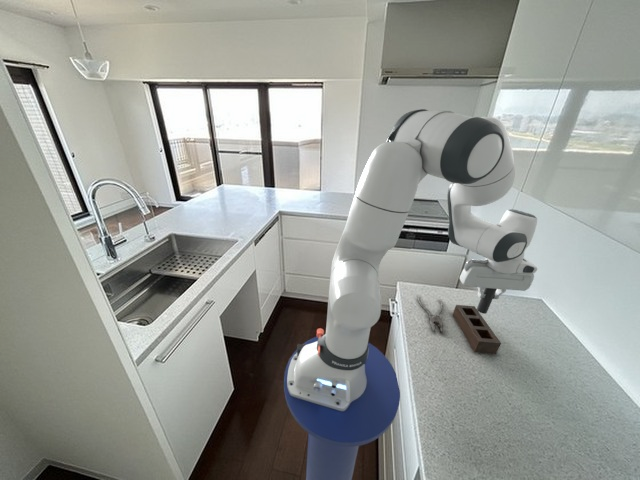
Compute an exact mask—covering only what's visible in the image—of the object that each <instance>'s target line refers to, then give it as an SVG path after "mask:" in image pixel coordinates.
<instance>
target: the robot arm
mask: <svg viewBox="0 0 640 480" xmlns="http://www.w3.org/2000/svg"><path fill="white" fill-rule="evenodd" d="M514 157H515V156H514V150H513V145H512V142H511V139H510V136H509V133H508V130H507V127H506V125H505V124H504V122H503V121H502V120H500V119H498V117H497V118H496V117H495V116H494V117H493V116H475V117H474V116H469V115H466V114H463V113H456V112H454V111H451V110H440V109H433V110H432V109H431V110H428V109H425V108H421V109H415V110H410V111H408V112H406V113H404V114H403V115H401V117H399V119H397V121H396V122H395V124H394V125H393V127H392V129H391V131H390V133H389V135H388V137H387V138H386V142H382V143H381V144H379V145H378V146H376V147H375V148H374V150H373V151H372V152H371V154H370V156H369V158H368V160H367V162H366V164H365V166H364V169H363V171H362V173H361V176H360V178H359V180H358V184H357V186H356V190H355V193H354V196H353V198H352V203H351V205H350V209H349V212H348V216H347V219H346V222H345V226H344V228H343V231H342V234H341V235H340V239H339V241H338V244H337V246H336V249H335V251H334V255H333V258H332V261H331V268H330V277H329V286H328V298H327V313H326V327H325V330H324V329H323V328H321V327H320V328H317V329H316V336H315V337H318V338H319V339H318V341H316V342H314V343H311V344H304V343H302V344H300V343H297V344H296V350H297V353H296V354H295V355H294V357H293V358H292V360H291V363H290V366H289V370H288V376H287V387H288V391H289V393H290V395H291V396H293V397H296V398H299V399H302V400H306V401H309V402H312V403H316V404H319V405H322V406H326V407H329V408H332V409H336V410H339V411H345V410H346V409H347V408H348V406H349V405H350V403H351V402H353V401H354V400H356V399H357V398H359V397H360V396H361V395H362V394H363V392H364V391H365V388H366V384H367V379H366V374H365V364H366V360H367V357H368V351H369V346H368V343H369V339H370V332H371V328H372V327H373V326H375V324H377V323H378V321H379V320H380V317H381V314H382V313H381V312H382V305H383V293H382V289H381V287H382V286H381V283H380V279H379V268H380V265H381V263H382V260H383V258H384V256H385V255H386V254H387V253H388V252H389V251H391V250H392V249H393V248H395V246H396V245H397V242H398V240H399V237H400V235H401V232H402V230H403V228H404V226H405V223H406V221H407V218H408V216H409V213H410V210H411V208H412V206H413V203H414V200H415V198H416V194H417V191H418V187H419V185H420V183H421V181H422V180H423V179H424V178H425V177H426V176H427V175H430V176H432V177H437V178H440V179H442V180H443V179H444V180H446V181H447V182H450V184H449V185H448V186H449V187H448V190H447V210H448V211H447V212H448V221H449V222H448V228H447V235H448V240H449V241H450V242H451V244H453V245H456V246H458V247H461V248H464V249H466V250H468V251H470V252H472V253H475V254H476V255H479V256H482V257H483V258H484V259H477V258H472V259H471V260H468V261H466V263H465V264H464V267H463V269H462V271H461V272H460V275H459V281H460V283H461V284H462V285H463V286H464V287H467V288H469V287H471V288H477V291H478V292H477V294H476V295H477V298H479V299H481V298H485V295H486V294H485V293H484V290H485V288H493V289H497V290H496V292H495V295H494V297H493V299H492V300H499V299H500V296H502V295H503V294H505V293H506V291H507V290H509V291H521V292H525V291H527V290H529V289H530V288H531V286H532V283H533V282H534V278H535V273H537V271H538V267H537V266H536V265H534V264H533V263H532V262H531V261H530V260H528V259H527V258H525V252H526V250H527V248H529V246H530V244H531V242H532V241H533V237H534V235H535V232H536V229H537V225H538V218H537V217H536V215H534V214H532V213H529V212H525V211H522V210H519V209H513V208H512V209H506V211H505V212H504V213H503V215H502V217H501V219H500V221H499V223H494V222H492V221H488V220H486V219H483V218H480V217H478V216H476V215H475V214H473V213H472V212H471V211H472V210H471V209H472V207H483V206H487V205H490V204H493V203H496V202H497V201H499V200H501V199H502V198H504V196H506V195H507V194H508V193H509V191H510V190H511V189H512V187H513V185H514V183H515V175H516V170H515V169H516V168H515V158H514ZM295 359H296V360H295ZM290 384H292V385H290ZM337 403H338V404H339V405H337Z"/></svg>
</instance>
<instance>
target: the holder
mask: <svg viewBox="0 0 640 480" xmlns="http://www.w3.org/2000/svg"><path fill="white" fill-rule="evenodd" d="M452 316H453V318H454V320H455V322H456V323H457V326H458V327H459V329H460V331H461V332H462V334H463V335H464V337H465V339H466V341H467V343H468V344H469V345H470V348H471V349H472V351H473V352H474V353H477V354H486V355H487V354H489V355H497V353H498V351H499V349H500V347H501V345H502V342H501V340H500V339H499V338H498V336H497V335H496V334H495V332H494V331H493V330H492V329H491V327H490V326H489V324H488V322H487V321H486V320H485V319H484V317H483V316H482V314H481V313H480V312H479V311H478V310H477V308H476V306H475V305H463V304H456V305H455V307H454V309H453V312H452Z"/></svg>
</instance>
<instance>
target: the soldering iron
mask: <svg viewBox="0 0 640 480" xmlns="http://www.w3.org/2000/svg"><path fill="white" fill-rule="evenodd" d="M496 290H497V289H493V288H485V289H484V290H483V292H484V293H485V294H486V295H485V298H480V300H479V302H478V305H477V308H476V309H477V310H478V312H479V313H480V314H482V315H483V314H485V315H486V314H487V313H488V311H489V309H490V306H491V304H492V302H493V300H494V299H493V297H494V295H495V292H496Z"/></svg>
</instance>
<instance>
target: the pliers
mask: <svg viewBox="0 0 640 480" xmlns="http://www.w3.org/2000/svg"><path fill="white" fill-rule="evenodd" d="M417 299H418V304H419V305H420V307H421V308H422V309H423V310H424V311H425V312H426V314H427V315H428V317H429V326H430V327H431V329H432V331H433V332H435V331H436V325H437V327H438V328H439V331H440V333H441V334H443V333H444V325H443V322H442V320H441V318H440V315H441V314H442V312H443V310H444V303H443V301H442V300H441V299H439V300H438V301H439V303H440V309H438V311H437V312H436V314H435V315H434V314H433V313H432V312H431V311H430V310H429V309H428V308H427V307H426V306H424V305H423V302H422V301H421V295H418V298H417Z"/></svg>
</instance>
